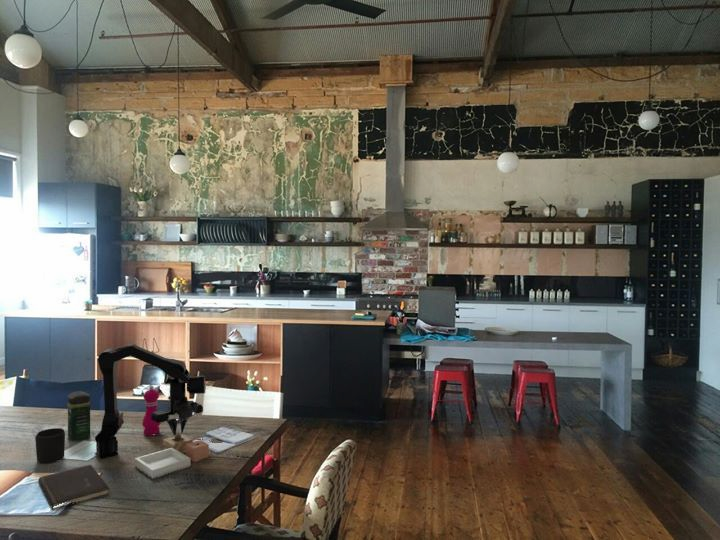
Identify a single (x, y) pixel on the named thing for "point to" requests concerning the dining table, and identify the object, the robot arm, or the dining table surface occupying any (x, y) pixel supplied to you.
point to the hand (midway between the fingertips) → (177, 434)
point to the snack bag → (225, 439)
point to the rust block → (197, 450)
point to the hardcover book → (73, 485)
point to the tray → (162, 462)
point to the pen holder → (50, 445)
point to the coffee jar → (78, 415)
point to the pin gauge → (178, 429)
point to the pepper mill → (150, 412)
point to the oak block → (177, 443)
